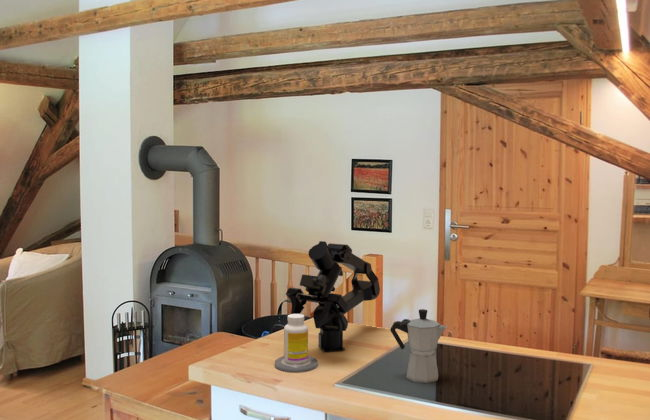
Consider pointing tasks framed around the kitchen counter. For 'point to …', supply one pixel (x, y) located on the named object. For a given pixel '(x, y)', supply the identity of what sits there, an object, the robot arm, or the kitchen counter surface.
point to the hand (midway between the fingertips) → (304, 324)
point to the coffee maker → (420, 346)
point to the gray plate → (296, 365)
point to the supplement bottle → (296, 340)
